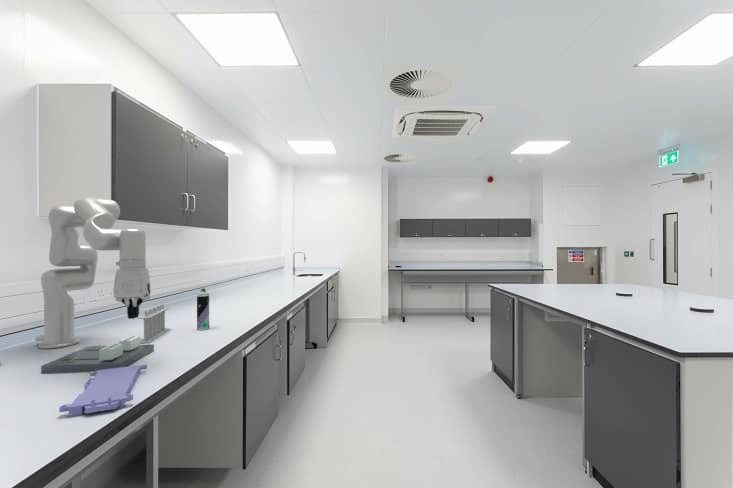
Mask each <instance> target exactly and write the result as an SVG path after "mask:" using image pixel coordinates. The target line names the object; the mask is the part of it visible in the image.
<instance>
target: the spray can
mask: <svg viewBox="0 0 733 488" xmlns="http://www.w3.org/2000/svg"><path fill="white" fill-rule="evenodd" d="M196 330H197V331H207V330H210V293H209V292H207V290H206V288H201V289H200V291H199V292H198V293H197V294H196Z"/></svg>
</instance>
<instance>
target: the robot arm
mask: <svg viewBox="0 0 733 488" xmlns="http://www.w3.org/2000/svg"><path fill="white" fill-rule="evenodd" d="M120 215H121V208H120V205H119V204H118V203H117V202H116V201H115V200H113V199H107V198H99V197H98V198H97V197H88V196H87V197H81V198H78V199H77V200H76V201H75V202H74V204H73V205H55V206H53V207H52V208H51V209H50V211H49V213H48V223H49V227H50V230H51V237H50V242H49V243H50V244H49V254H48V260H49V264H51V265H52V266H54V267H62V268H53V269H49V270H46V271H45V272H44V273H42V274H41V277H40V285H41V289H42V292H43V293H42V294H43V312H44V313H43V334H38V335H36V337H35V338H34V341H35V342H38V341H39V342H41V343H39V344H38V348H39V349H46V350H47V349H48V350H49V349H58V348H64V347H69V346H73V345H76V344H78V343H79V342H80V338H77V337H75V301H74V298H73V297H72V296H71V295H70V294H69V293H68V292H71V291H73V292H74V291H81V290H88V289H90V288H92V286H94V284H95V283H94V282H95V278H96V272H97V265H98V251H119V260H118V261H116V262H115V265H116V266H118V268H117V269H116V271H115V275H114V276H115V277H114V281H113V297H114V298H115V302H120V303H122V304H124V306H125V307H126V308H127V309H126V310H127V311H126V314H127V318H128V319H129V320H130V319H131V320H132V319H133V320H134V319H136V318H137V319H138V318H139V315H140V306H141V304H142V303H143V302H146V301H149V300H151V296H150V295H151V291H152V290H151V286H152V285H151V278H150V273H149V272H150V271H149V268H146V265H147V261H146V260H147V259H146V257H147V256H146V255H147V254H146V252H147V251H146V247H147V246H146V232H145V230H143V229H140V228H139V229H138V228H124V229H122V228H121V229H120V228H113V226H114V225H115V223H116V220H118V219H119V217H120ZM76 228H82V229H83V230H82V231H83V232H82V234H83V237H84V240H85V241H86V242H87V243H79V237H80V236H79V232H78V230H77V229H76ZM63 267H67V268H63ZM68 267H69V268H68ZM70 267H74V268H70ZM76 267H77V268H76Z"/></svg>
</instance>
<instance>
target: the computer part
mask: <svg viewBox="0 0 733 488" xmlns="http://www.w3.org/2000/svg"><path fill="white" fill-rule="evenodd" d="M147 369H148V364H135V365H129V366H127V367H119V368H111V369H103V370H98V371H92V372H89V373H90V374H89V376H90V377H89V378H88V379H87V381H86V382H85V383H84V391H82V393H80V394H78V396H77V397H76V398H75V399H74V400H73V402H72V403H68V404H62V405H60V406H59V407H58V408H59V409H58V410H59V412H60V413H64V412H68V418H72V417H77V416H78V417H79V416H83V414H92V413H96V412H97V413H98V412H99V411H100V412H105V410H106V411H109V410H116V409H123V408H124V405H125V403H127V402H130V401H133V400H134V394H131V392H132V390H133V388H134V386H135V383H136V381H137V379H138V378H139V375H140V373H141V371H142V370H147ZM92 377H93V378H92Z"/></svg>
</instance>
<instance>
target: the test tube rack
mask: <svg viewBox="0 0 733 488" xmlns="http://www.w3.org/2000/svg"><path fill="white" fill-rule="evenodd" d="M169 309H170V307H165V304H164V303H161V304H159V305H156V306H154V307H152V308H149V309H148V310H144V315H141V316H138V317H137V319H138V320H139V319H140V320H143V338H142V339H140V345H148V344H151V343H152V342H154V341H155V340H156V339H158V338H159V337H161V336H162V335H164V334H165V333H167V332H168V331H170V330H171V328H170V327H168V328H166V325H165V323H166V322H165V321H166V320H165V319H166V317H165V316H166V315H165V313H166V310H169Z"/></svg>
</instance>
